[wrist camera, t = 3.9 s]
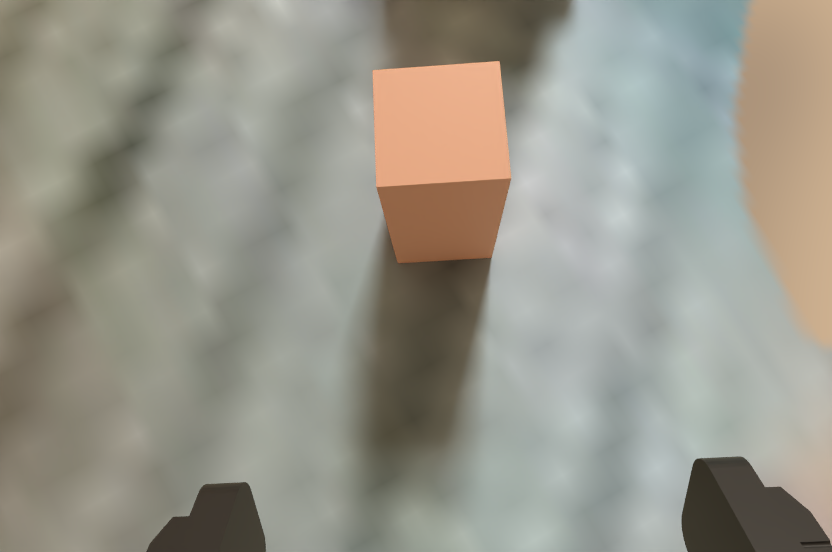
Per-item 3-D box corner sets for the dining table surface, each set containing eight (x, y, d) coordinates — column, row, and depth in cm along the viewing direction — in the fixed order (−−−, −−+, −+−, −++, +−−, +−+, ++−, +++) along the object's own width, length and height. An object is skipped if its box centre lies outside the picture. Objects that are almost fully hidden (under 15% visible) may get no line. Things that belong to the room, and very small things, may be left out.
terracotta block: (491, 257, 29) (510, 178, 20) (397, 263, 29) (376, 187, 20) (484, 171, 30) (499, 61, 21) (394, 177, 30) (372, 70, 21)
